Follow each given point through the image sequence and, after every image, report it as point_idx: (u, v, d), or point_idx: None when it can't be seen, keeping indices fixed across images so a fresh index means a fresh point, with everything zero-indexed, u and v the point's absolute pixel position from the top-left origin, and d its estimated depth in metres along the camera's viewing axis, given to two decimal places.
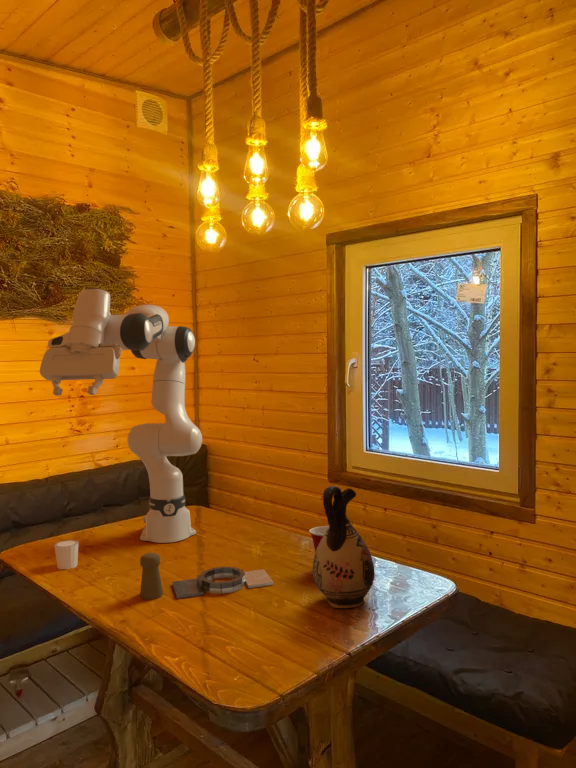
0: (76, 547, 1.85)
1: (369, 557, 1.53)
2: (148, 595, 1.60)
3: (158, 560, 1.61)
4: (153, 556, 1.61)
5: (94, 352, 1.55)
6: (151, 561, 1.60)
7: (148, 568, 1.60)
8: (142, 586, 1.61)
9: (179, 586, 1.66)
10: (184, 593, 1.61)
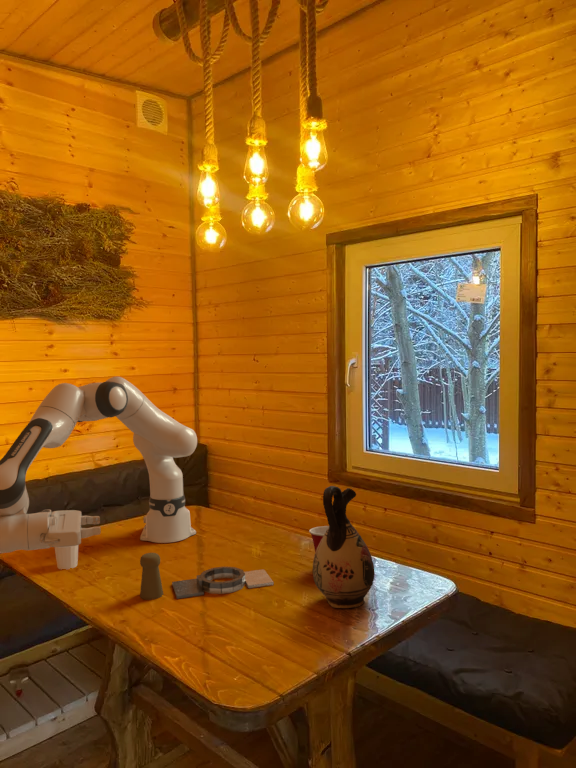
0: (76, 547, 1.85)
1: (369, 557, 1.53)
2: (148, 595, 1.60)
3: (158, 560, 1.61)
4: (153, 556, 1.61)
5: None
6: (151, 561, 1.60)
7: (148, 568, 1.60)
8: (142, 586, 1.61)
9: (179, 586, 1.66)
10: (184, 593, 1.61)
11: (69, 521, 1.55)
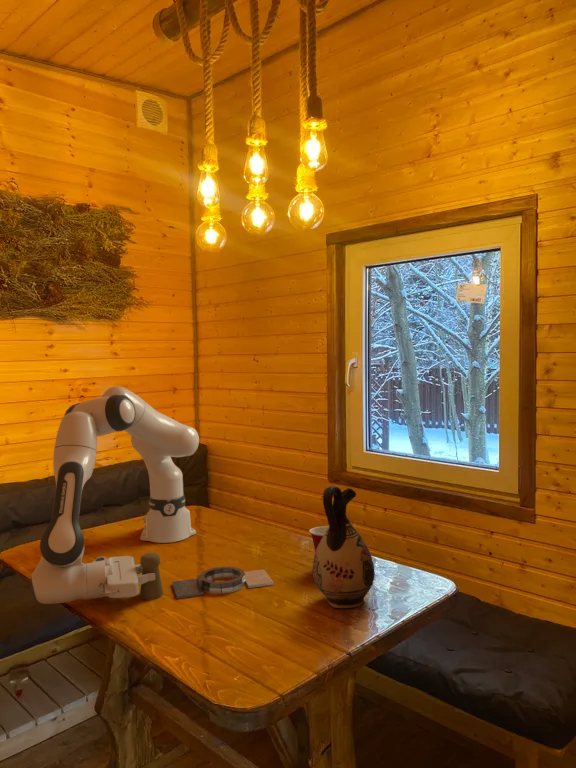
0: None
1: (369, 557, 1.53)
2: (148, 595, 1.60)
3: (158, 560, 1.61)
4: (153, 556, 1.61)
5: None
6: (151, 560, 1.60)
7: (148, 568, 1.60)
8: (142, 586, 1.61)
9: (179, 586, 1.66)
10: (184, 593, 1.61)
11: (125, 570, 1.60)
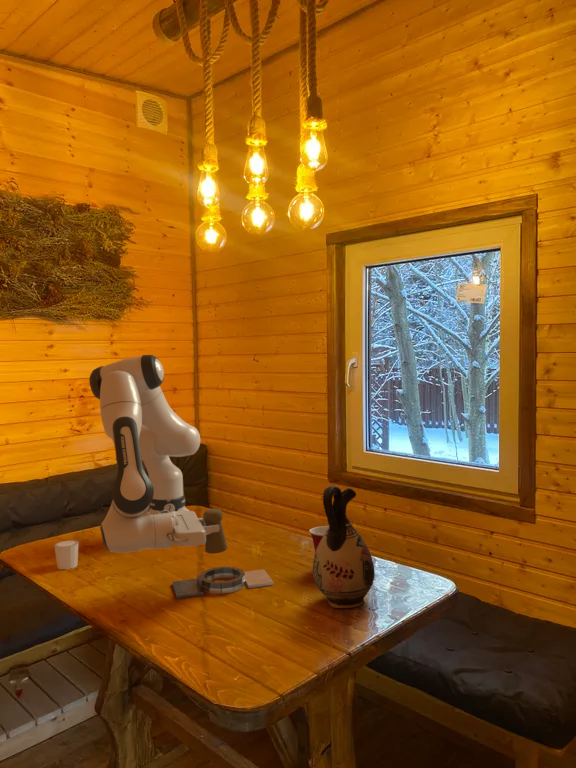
0: (76, 547, 1.85)
1: (369, 557, 1.53)
2: (214, 548, 1.65)
3: (221, 515, 1.66)
4: (216, 511, 1.65)
5: None
6: (214, 515, 1.64)
7: (212, 523, 1.65)
8: (207, 541, 1.65)
9: (179, 586, 1.66)
10: (184, 593, 1.61)
11: (190, 521, 1.64)
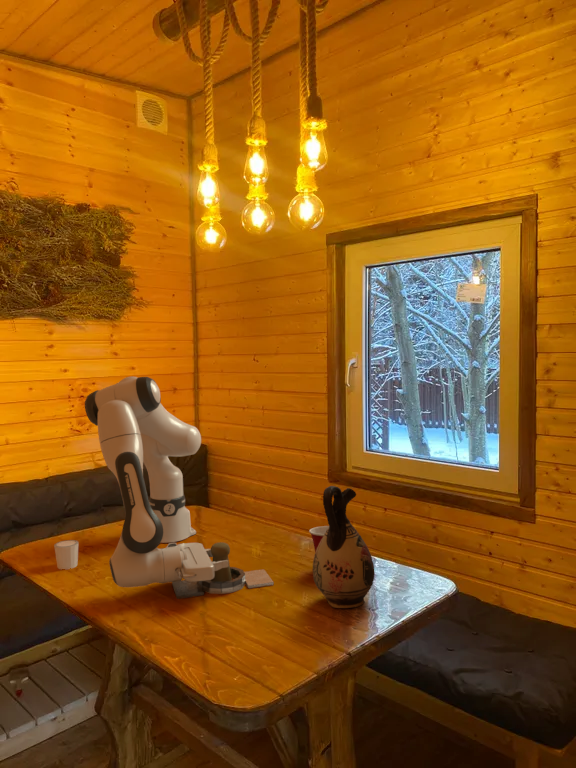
0: (76, 547, 1.85)
1: (369, 557, 1.53)
2: None
3: (228, 549, 1.68)
4: (224, 546, 1.68)
5: None
6: (222, 550, 1.67)
7: (219, 557, 1.67)
8: None
9: (179, 586, 1.66)
10: (184, 593, 1.61)
11: (198, 555, 1.65)
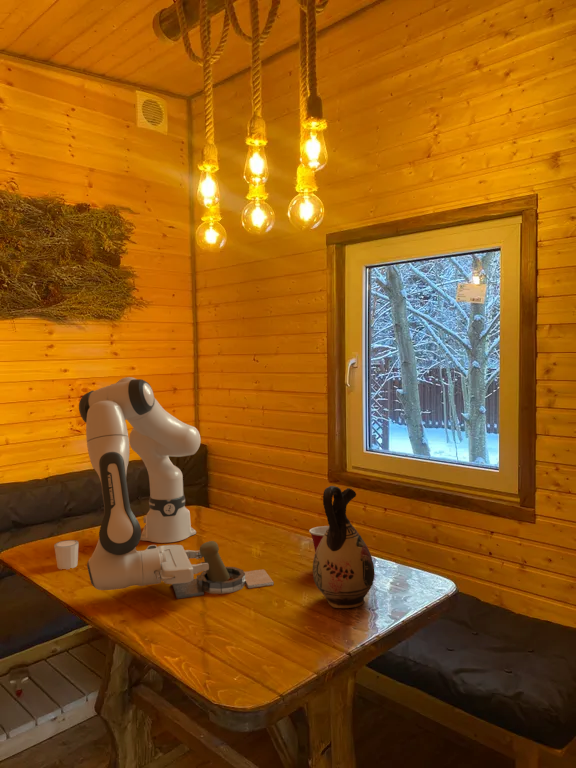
0: (76, 547, 1.85)
1: (369, 557, 1.53)
2: (216, 580, 1.67)
3: (216, 547, 1.68)
4: (211, 544, 1.67)
5: None
6: (210, 549, 1.66)
7: (209, 557, 1.67)
8: (208, 574, 1.68)
9: (179, 586, 1.66)
10: (184, 593, 1.61)
11: (177, 557, 1.64)
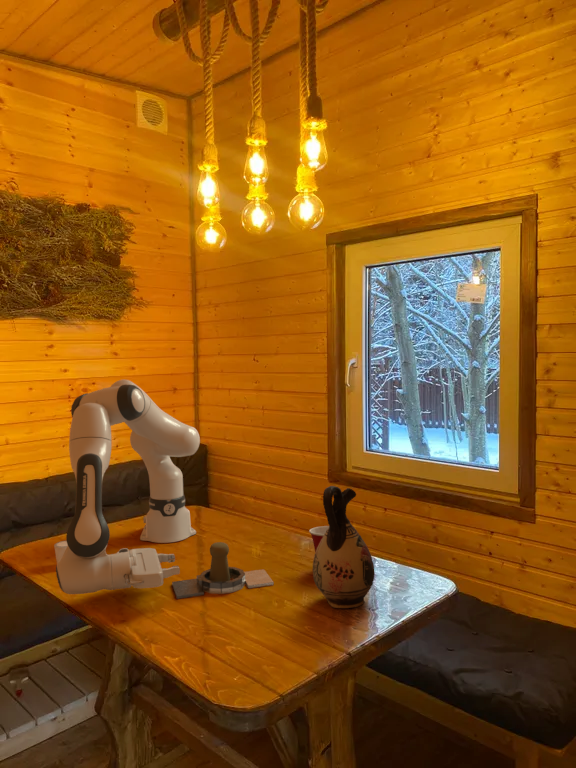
0: None
1: (369, 557, 1.53)
2: None
3: (227, 549, 1.68)
4: (223, 546, 1.68)
5: None
6: (221, 550, 1.67)
7: (218, 557, 1.67)
8: (212, 574, 1.68)
9: (179, 586, 1.66)
10: (184, 593, 1.61)
11: (148, 561, 1.62)
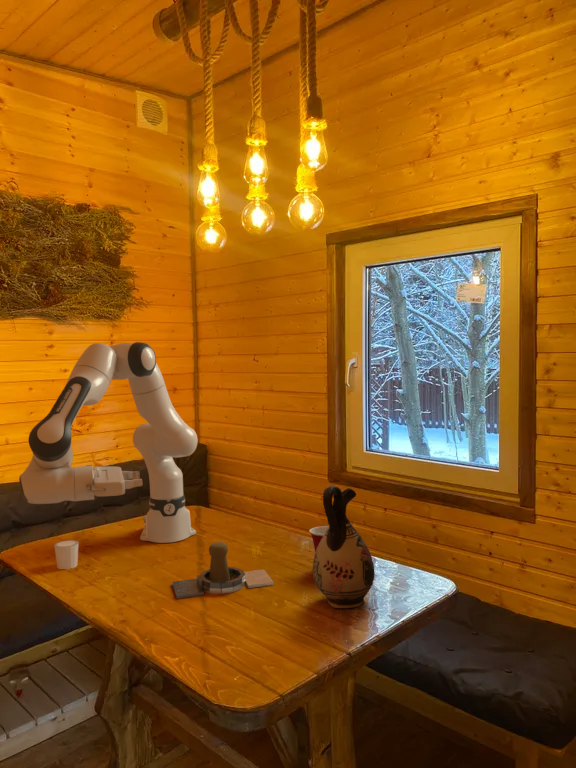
0: (76, 547, 1.85)
1: (369, 557, 1.53)
2: None
3: (226, 549, 1.69)
4: (221, 545, 1.68)
5: None
6: (219, 549, 1.67)
7: (217, 557, 1.67)
8: (211, 574, 1.68)
9: (179, 586, 1.66)
10: (184, 593, 1.61)
11: (112, 474, 1.63)
